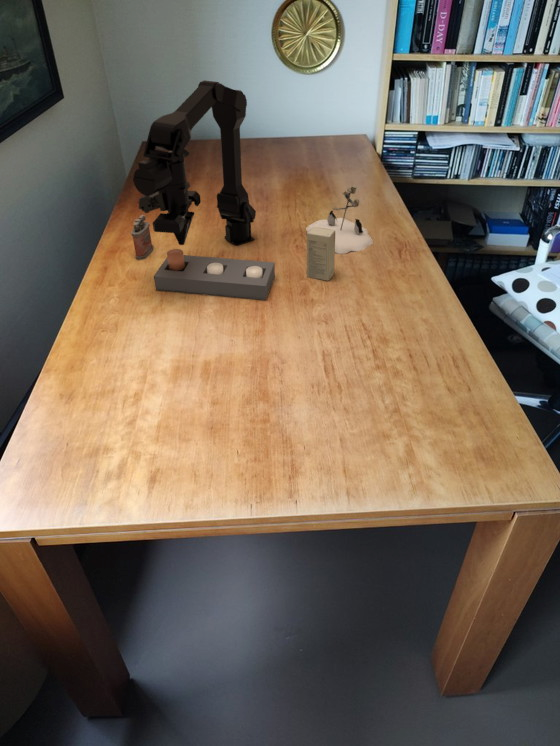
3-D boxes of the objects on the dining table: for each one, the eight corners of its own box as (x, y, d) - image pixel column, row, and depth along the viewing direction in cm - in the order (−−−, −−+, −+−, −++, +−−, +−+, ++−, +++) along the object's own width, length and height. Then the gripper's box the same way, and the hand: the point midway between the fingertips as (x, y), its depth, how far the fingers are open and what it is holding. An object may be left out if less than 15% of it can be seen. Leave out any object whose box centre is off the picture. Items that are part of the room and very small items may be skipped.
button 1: (225, 277, 141) (224, 263, 138) (221, 285, 137) (220, 271, 135) (210, 276, 141) (209, 262, 139) (206, 284, 138) (204, 269, 135)
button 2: (264, 280, 139) (263, 266, 137) (260, 288, 136) (260, 274, 134) (248, 279, 140) (248, 265, 137) (245, 287, 137) (244, 273, 134)
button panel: (274, 276, 142) (274, 262, 140) (265, 300, 133) (265, 286, 131) (171, 267, 146) (169, 253, 144) (155, 290, 137) (153, 276, 135)
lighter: (144, 260, 149) (138, 225, 143) (133, 259, 150) (126, 224, 144) (155, 247, 155) (150, 213, 149) (144, 246, 156) (138, 212, 150)
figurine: (292, 233, 160) (297, 179, 149) (336, 216, 170) (344, 164, 159) (340, 263, 150) (350, 208, 139) (384, 244, 159) (396, 191, 148)
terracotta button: (186, 263, 140) (185, 249, 137) (182, 271, 137) (180, 256, 134) (171, 262, 141) (169, 248, 138) (166, 270, 137) (164, 255, 135)
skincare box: (334, 274, 143) (337, 230, 135) (328, 281, 140) (331, 237, 132) (311, 269, 145) (313, 225, 138) (305, 276, 142) (306, 232, 134)
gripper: (153, 165, 132) (162, 226, 142) (124, 194, 118) (136, 260, 128) (198, 167, 131) (203, 229, 141) (174, 197, 117) (183, 263, 127)
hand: (181, 244), depth 134 cm, fingers closed
